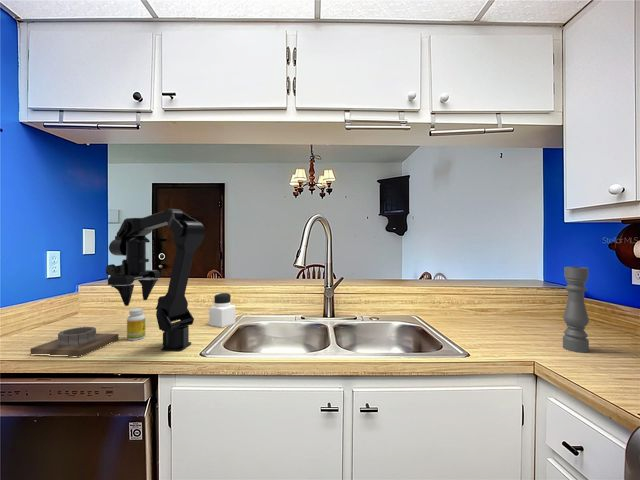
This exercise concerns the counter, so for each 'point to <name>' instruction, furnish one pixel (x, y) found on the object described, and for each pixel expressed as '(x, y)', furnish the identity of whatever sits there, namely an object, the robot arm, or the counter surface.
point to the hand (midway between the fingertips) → (136, 302)
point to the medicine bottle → (222, 311)
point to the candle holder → (576, 310)
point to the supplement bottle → (136, 324)
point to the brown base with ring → (75, 342)
